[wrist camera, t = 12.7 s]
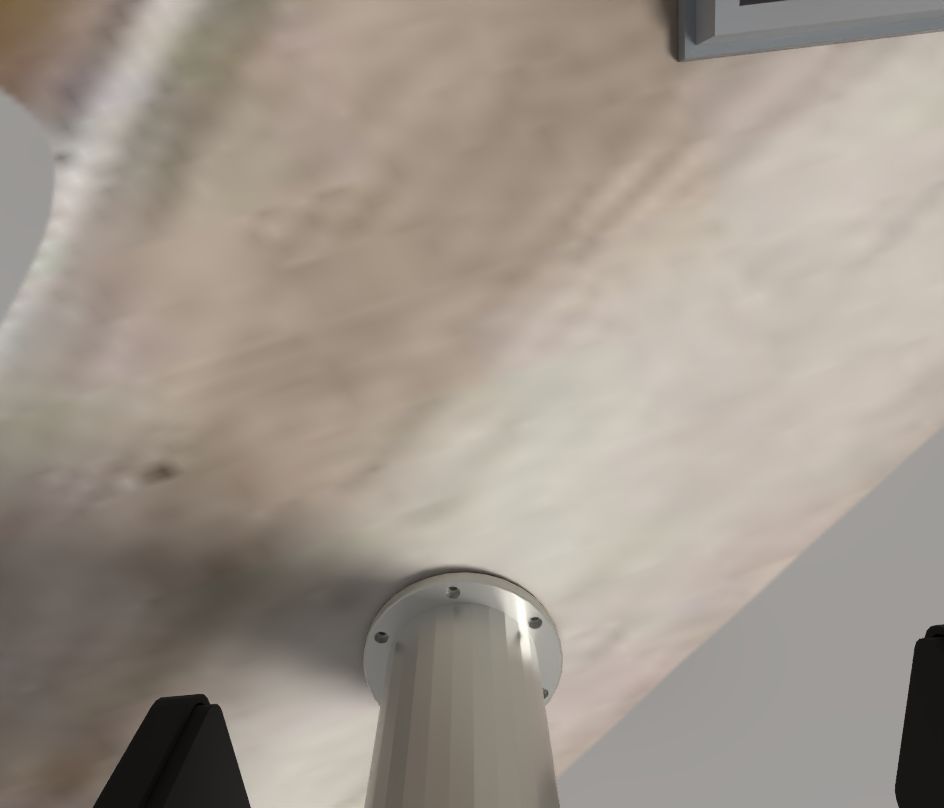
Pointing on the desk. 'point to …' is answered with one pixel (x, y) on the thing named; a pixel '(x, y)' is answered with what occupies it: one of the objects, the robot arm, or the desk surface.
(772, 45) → the organizer
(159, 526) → the desk surface
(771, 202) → the desk surface
